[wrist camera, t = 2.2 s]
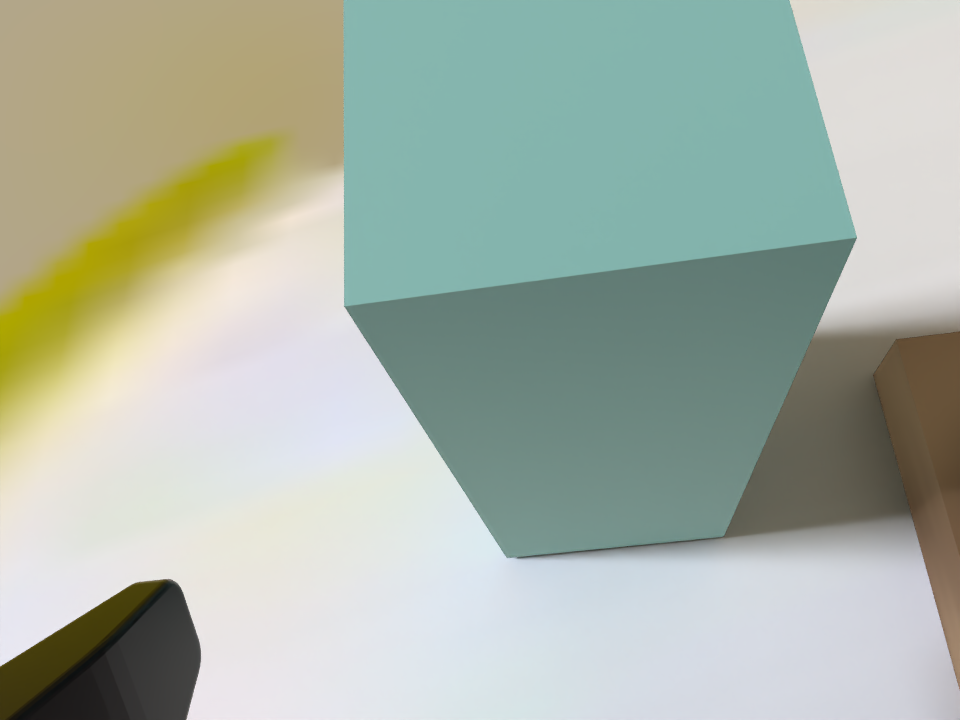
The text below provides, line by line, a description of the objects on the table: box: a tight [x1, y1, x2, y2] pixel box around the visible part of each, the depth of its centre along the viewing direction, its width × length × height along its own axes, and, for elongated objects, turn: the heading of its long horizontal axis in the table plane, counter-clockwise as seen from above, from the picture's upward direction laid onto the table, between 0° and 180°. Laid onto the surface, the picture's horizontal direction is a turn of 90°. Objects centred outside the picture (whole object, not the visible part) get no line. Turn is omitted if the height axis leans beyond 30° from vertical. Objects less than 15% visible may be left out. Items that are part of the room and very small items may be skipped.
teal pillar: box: [344, 0, 857, 558], centre depth 15 cm, size 5×5×13 cm
